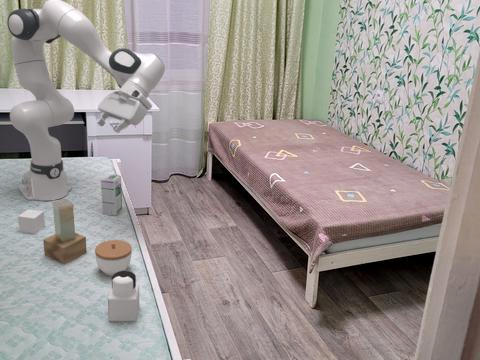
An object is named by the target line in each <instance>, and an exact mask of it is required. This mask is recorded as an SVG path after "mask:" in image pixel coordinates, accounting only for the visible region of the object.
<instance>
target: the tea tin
mask: <svg viewBox="0 0 480 360" xmlns="http://www.w3.org/2000/svg"><path fill="white" fill-rule="evenodd" d="M51 205H52V211H53V221H54V232H55V233H54V234H55V235H56V238H57V239H58V240H59V241H60V242H61V243H63V242H67V241H70V240H74V239H75V233H76V229H75V214H74V212H75V211H74V207H75V204H74V203H73V202H72V201H70V200H69V199H68V198H65V199H61V200H57V201H56V200H54V201H53V202H51Z"/></svg>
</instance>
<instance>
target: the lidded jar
mask: <svg viewBox="0 0 480 360" xmlns="http://www.w3.org/2000/svg"><path fill="white" fill-rule="evenodd" d="M132 250H133V249H132V245H131V243H129V242H127V241H124V240H120V239H110V240H105V241H102V242H100V243H99V244H98V245H96V246H95V248H94V254H95V261H96V264H97V267H98V268H99V269H100V271H101V272H103V273H104V274H105V275H106V276H111V277H112V276H113V275H114V274H115V273H117V272H119V271H127V269H128V268H129V266H130V264H131V259H132Z"/></svg>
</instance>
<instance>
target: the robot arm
mask: <svg viewBox="0 0 480 360" xmlns="http://www.w3.org/2000/svg"><path fill="white" fill-rule="evenodd" d="M6 23H7V28H8V31H9V33H10V34H11V35H12V37H11V40H10V46H11V54H12V55H11V56H12V59H13V64H14V68H15V72H16V75H17V80H18V83H19V85H20V87H21V88H23V89H24V90H27V91H29V92H30V93H32V94H33V96H34V98H35V99H36V100H29V101H23V102H21V103H19V104H16V105H14V106H12V108H11V109H10V112H9V119H10V123H11V124H12V126H13V127H14V129H16V130H17V131H19V132H21V133H22V134H23V135H24V137H25V138H26V139H27V140H28V144H29V149H30V156H31V160H30V167H29V170H28V171H26V173H25V174H24V175H23V179H21V182H22V183H21V184H19V185H17V188H18V190H19V191H20V193H21V194H22V196H24V198H25V199H26V200H27V201H35V200H36V201H43V202H44V201H56V200H59V199H62V198H65V197H66V196H67V195H68V194H69V192H70V191H71V190H72V188H71V186H70V185H69V183H68V174H67V171H66V170H64V162H63V159H62V150H61V149H62V148H61V147H62V146H61V142H60V141H59V140H58V138H56V137H55V136H52V135H50V133H49V128H51V127H56V126H61V125H64V124H66V123H68V122H70V121H71V120H72V119H73V118H74V116H75V107H74V105H73V103H72V102H71V100H69V98H67V97H65V96H64V95H63V94H61V93H60V92H59V90H58V89H57V88H56V87H55V85H54V83H53V80H52V79H51V76H50V73H49V70H48V65H47V62H46V57H45V54H44V50H43V46H44V44H45V43H46V44H48V45H49V44H51V43H53V42H54V41H55V40H58V39H59V38H62V39H64V40H65V41H67V42H68V43H70V44H71V45H72V46H74V47H76V49H78V50H80V51H81V52H82V53H84V54H85V55H87V56H88V57H90V58H91V59H92V60H93V61H94V62H96V63H97V64H98V65H99V66H100V67H102V68H103V69H104V70H105V71H106V72H107V73H109V74H110V75H111V76H112V77H113V78H114V80H115V82H116V84H117V86H118V87H119V89H118V90H115V91H114V92H111V93H108V94H107V95H106V96H105V97H104V98H103V99H102V100H101V101H100V103H99V104H98V106H97V110H98V111H99V112H100V116H99V119H98V120H97V125H98V126H100V127H104V126H105V124H106V119H108V118H109V117H111V118H113V119H115V120H118V121H120V122H119V123H118V124H116V125H115V126H114V127H113V131H114V132H115V133H120V132H121V131H122V130H123V129H125V128H127V127H128V126H129V125H132V126H138V125H139V124H140V123H142V121H143V120H144V118H145V117H146V116H147V114H148V111H150V110H151V109H152V108H153V104H152V103H151V102H150V100H149V99H148V98H149V96H150V93H151V91H153V89H155V88H156V87H157V85H158V84H159V83H160V81H161V79H162V78H163V76H164V74H165V71H166V69H165V65H164V62H163V61H162V59H160V57H159V56H158V55H156V54H154V53H152V52H149V53H148V52H147V53H140V52H136V51H133V50H131V49H129V48H118V49H116V50H114V51H113V52H112V51H110V49H109V48H108V47H107V46H106V45H105V44H104V42H103V41H102V39H101V37H100V35H99V33H98V31H97V30H96V28H95V26H94V24H93V23H92V21H91V20H90V19H89V18H88V17H87V16H86V15H85V14H84V13H83V12H82V11H80V10H79V9H77V8H76V7H74V6H72V5H71V4H69V3H68V2H66V1H64V0H46V1H45V3H44V4H43V5H42V8H18V9H15V10H12V11H11V12H10V13H9V15H8V17H7V22H6Z"/></svg>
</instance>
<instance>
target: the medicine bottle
mask: <svg viewBox="0 0 480 360" xmlns="http://www.w3.org/2000/svg"><path fill="white" fill-rule="evenodd" d="M136 276H137V275H136V274H135V273H134V272H133V271H130V270H124V271H119V272H117V273H115V274H114V275H113V276H111V289H110V292H109V295H108V299H107V301H108V302H107V303H108V321H109V322H137V321H136V320H138V315H139V309H140V284H139V283H137V282H136V281H137V279H136V278H137V277H136Z"/></svg>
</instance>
